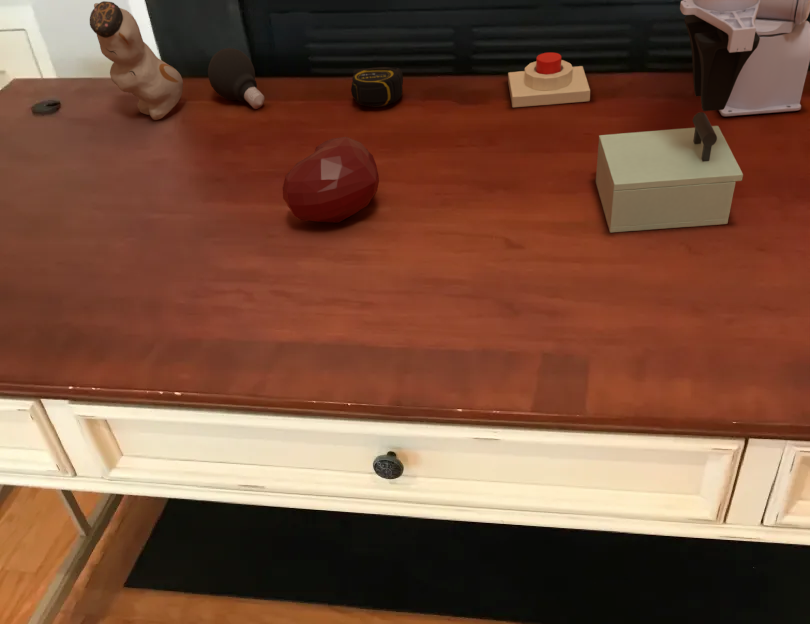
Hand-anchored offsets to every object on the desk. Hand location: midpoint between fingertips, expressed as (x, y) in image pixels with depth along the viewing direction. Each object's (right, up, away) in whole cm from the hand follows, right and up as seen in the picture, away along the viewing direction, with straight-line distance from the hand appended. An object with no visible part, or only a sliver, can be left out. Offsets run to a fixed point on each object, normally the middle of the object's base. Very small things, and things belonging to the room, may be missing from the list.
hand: (709, 101), depth 90 cm
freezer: (-3, -7, +8) cm, 11 cm away
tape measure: (-34, +16, +32) cm, 50 cm away
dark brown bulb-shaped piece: (-53, +18, +36) cm, 67 cm away
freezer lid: (-3, -4, +5) cm, 7 cm away
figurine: (-65, +15, +35) cm, 76 cm away
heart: (-38, -7, +13) cm, 40 cm away
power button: (-12, +17, +27) cm, 34 cm away
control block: (-12, +16, +29) cm, 35 cm away
